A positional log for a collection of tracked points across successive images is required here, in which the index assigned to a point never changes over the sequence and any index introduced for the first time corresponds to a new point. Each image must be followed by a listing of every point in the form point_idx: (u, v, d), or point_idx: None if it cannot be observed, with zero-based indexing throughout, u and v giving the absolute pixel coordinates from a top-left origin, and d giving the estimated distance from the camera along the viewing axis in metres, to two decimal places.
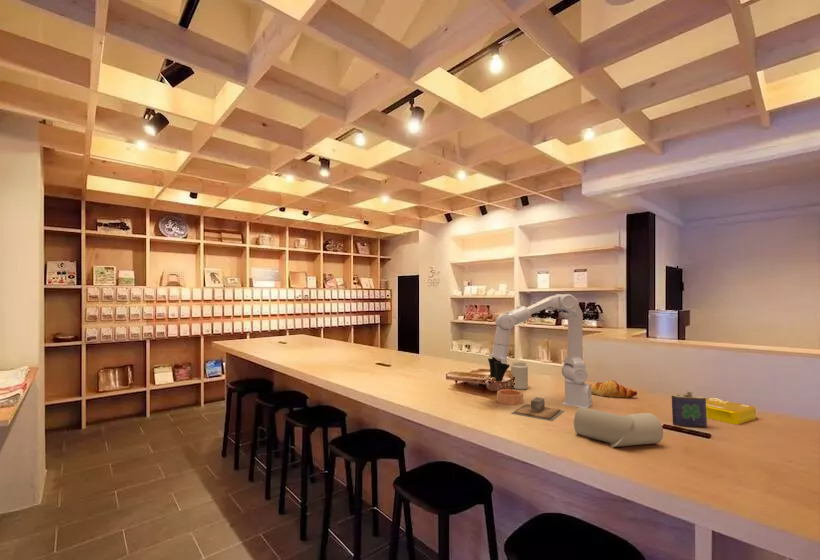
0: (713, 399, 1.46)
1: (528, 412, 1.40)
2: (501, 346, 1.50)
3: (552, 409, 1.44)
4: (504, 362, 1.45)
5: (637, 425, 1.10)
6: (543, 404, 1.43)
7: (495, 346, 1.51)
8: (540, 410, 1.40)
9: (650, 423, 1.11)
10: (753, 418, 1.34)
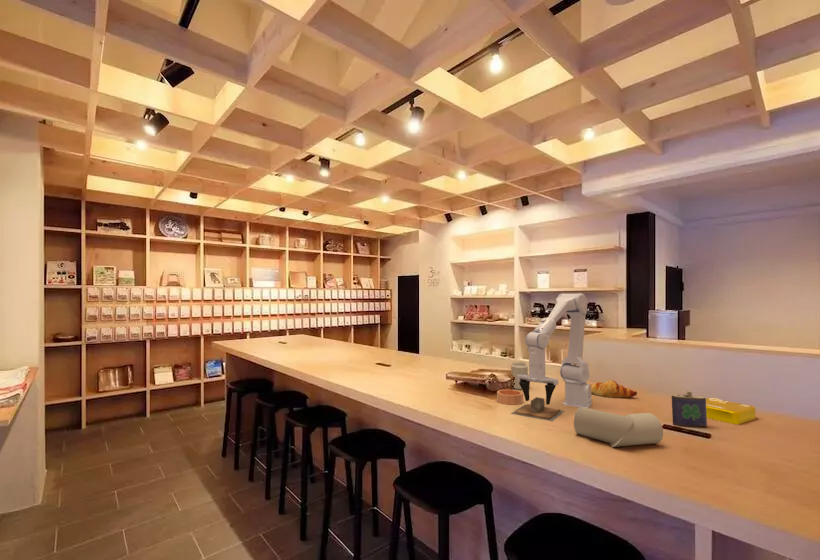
0: (713, 399, 1.46)
1: (528, 412, 1.40)
2: (544, 367, 1.41)
3: (552, 409, 1.44)
4: (557, 383, 1.39)
5: (637, 425, 1.10)
6: (543, 404, 1.43)
7: (538, 368, 1.40)
8: (540, 410, 1.40)
9: (650, 423, 1.11)
10: (753, 418, 1.34)
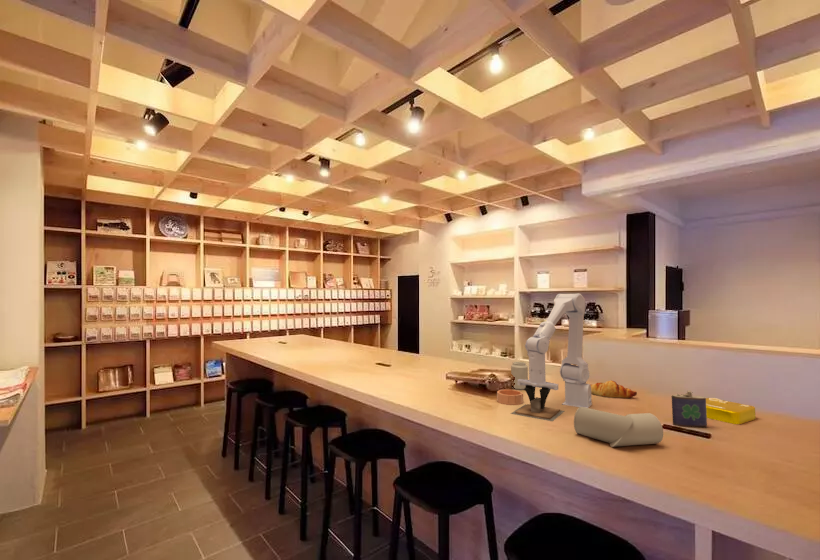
0: (713, 399, 1.46)
1: (528, 412, 1.40)
2: (544, 372, 1.41)
3: (552, 409, 1.44)
4: (557, 388, 1.39)
5: (636, 425, 1.10)
6: None
7: (538, 374, 1.40)
8: (540, 410, 1.40)
9: (650, 423, 1.10)
10: (753, 418, 1.34)
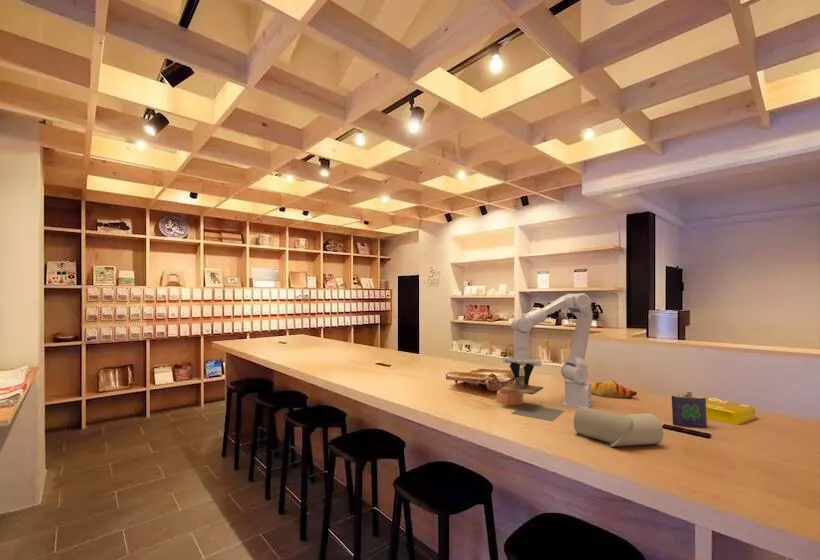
0: (712, 399, 1.46)
1: (513, 389, 1.48)
2: (528, 349, 1.49)
3: (535, 386, 1.52)
4: (540, 364, 1.47)
5: (636, 425, 1.10)
6: None
7: (522, 351, 1.48)
8: (524, 387, 1.48)
9: (650, 424, 1.10)
10: (753, 418, 1.34)
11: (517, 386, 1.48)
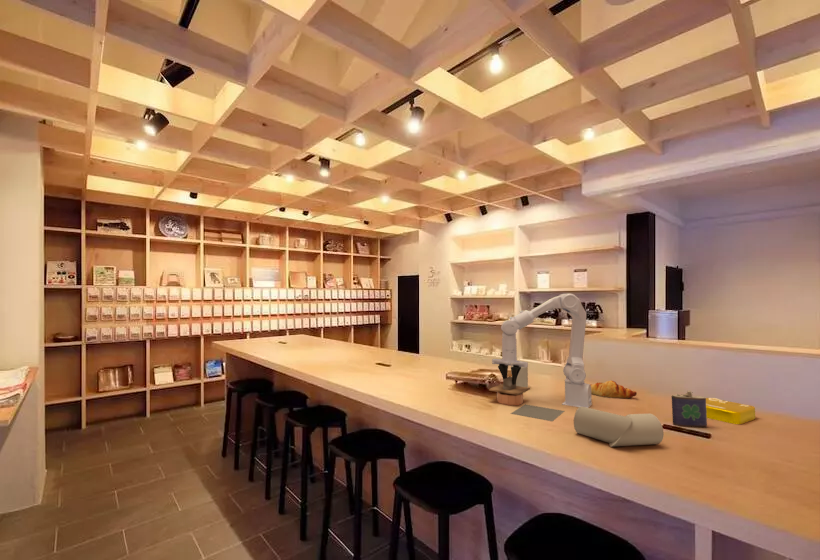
0: (712, 399, 1.46)
1: (500, 389, 1.55)
2: (515, 351, 1.56)
3: (523, 387, 1.59)
4: (526, 366, 1.54)
5: (636, 425, 1.09)
6: None
7: (509, 353, 1.55)
8: (511, 387, 1.55)
9: (650, 424, 1.10)
10: (753, 418, 1.34)
11: (505, 387, 1.55)
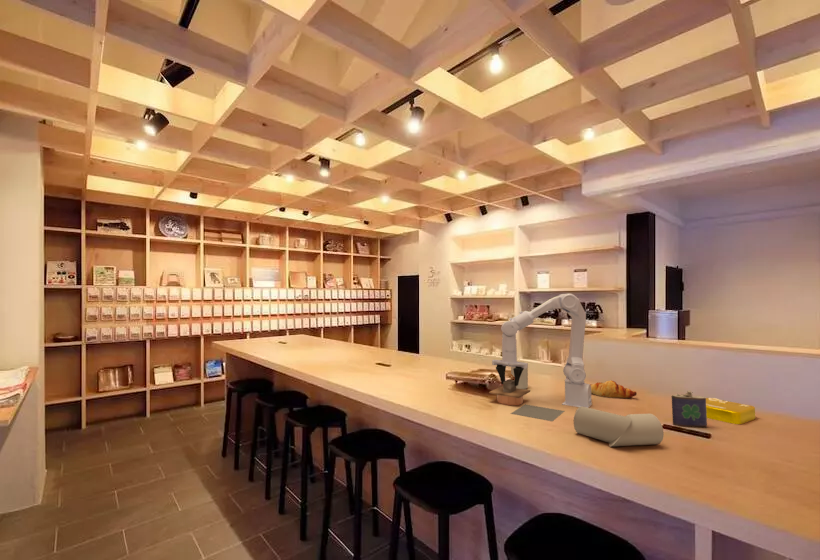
0: (712, 399, 1.46)
1: (500, 392, 1.55)
2: (515, 352, 1.56)
3: (523, 390, 1.59)
4: (527, 367, 1.53)
5: (635, 425, 1.09)
6: (514, 385, 1.58)
7: (510, 354, 1.55)
8: (511, 390, 1.55)
9: (650, 424, 1.10)
10: (753, 418, 1.35)
11: (505, 389, 1.55)
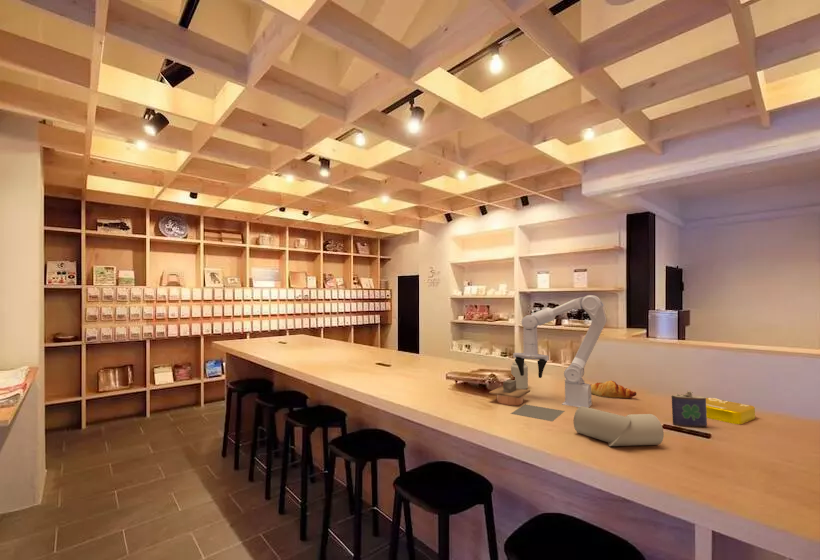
0: (712, 399, 1.46)
1: (500, 392, 1.55)
2: (536, 345, 1.61)
3: (523, 390, 1.59)
4: (548, 359, 1.59)
5: (635, 425, 1.09)
6: (514, 385, 1.58)
7: (531, 346, 1.60)
8: (511, 390, 1.55)
9: (650, 424, 1.10)
10: (753, 418, 1.35)
11: (505, 389, 1.55)
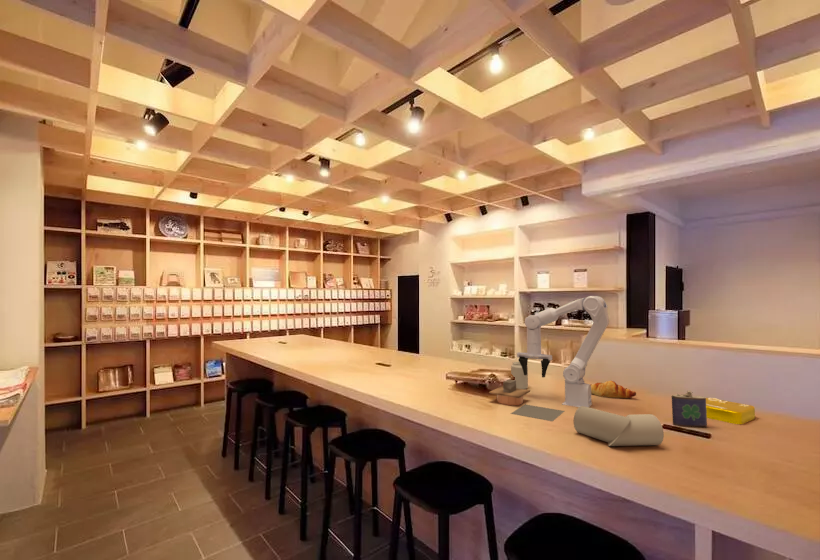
0: (711, 399, 1.46)
1: (500, 392, 1.55)
2: (540, 345, 1.62)
3: (523, 390, 1.59)
4: (551, 359, 1.60)
5: (634, 426, 1.09)
6: (514, 385, 1.58)
7: (535, 346, 1.61)
8: (511, 390, 1.55)
9: (650, 424, 1.10)
10: (753, 417, 1.35)
11: (505, 389, 1.55)
